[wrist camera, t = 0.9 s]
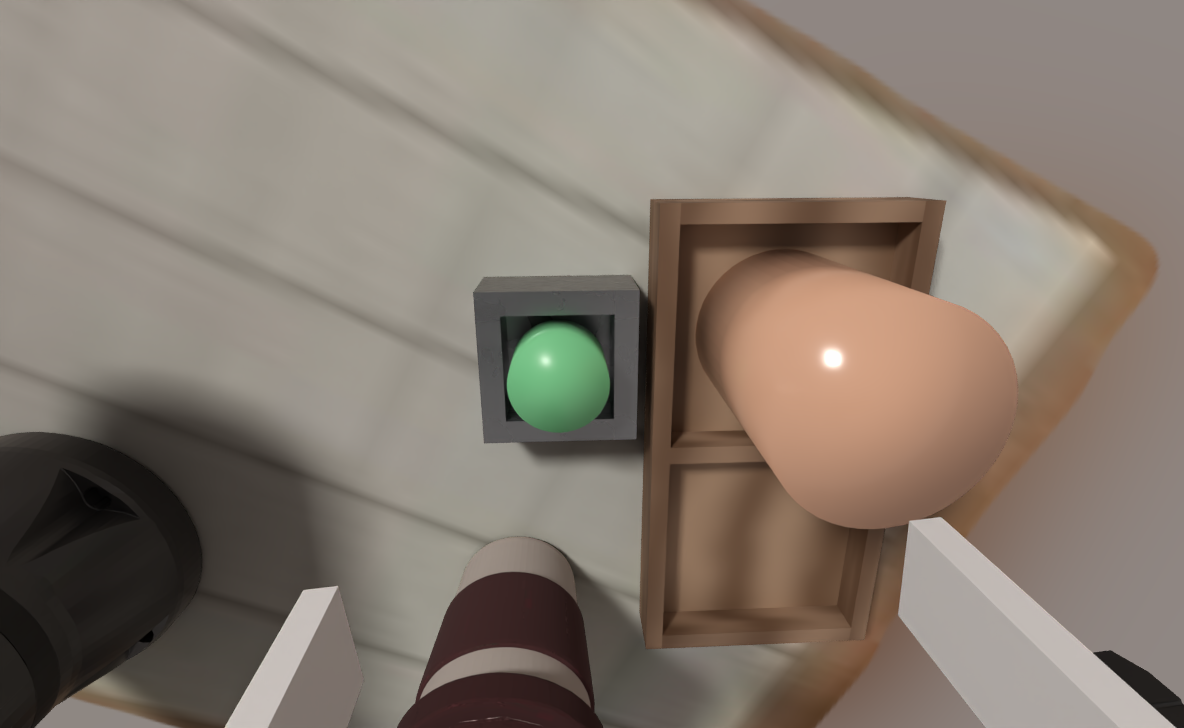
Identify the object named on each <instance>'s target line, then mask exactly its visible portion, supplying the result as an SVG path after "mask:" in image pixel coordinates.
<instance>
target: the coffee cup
mask: <svg viewBox="0 0 1184 728" xmlns="http://www.w3.org/2000/svg"><path fill="white" fill-rule="evenodd" d="M594 705H595V703H594V694H593V687H592V679H591V672H590V665H589V658H588V651H587V643H586V636H585V629H584V622H583V618H582V614H581V611H580V609H579V607H578V603H577V595H576V587H575V580H574V575H573V571H572V569H571V567H570V564H569V563H568V561H567V560H566V558H565V557H564V556H563V555H562V554H561V553H560V552H559V551H558V550H557V549H556V548H554V547H553V546H551V545H550V544H548V543H546V542H543V541H541V540H538V539H534V538H530V537H518V536H517V537H507V538H503V539H499V540H496V541H494V542H492V543H490V544H488V545H486V546H484V547H483V548H481V549H480V550H479V551H478V552H477V553H476V554H475V555H474V556H473V557H472V558H471V560H470V561H469V563H468V564H467V566H466V568H465V570H464V573H463V576H462V579H461V582H460V585H459V587H458V590H457V593H456V596H455V598H454V599H453V601H452V602H451V604H450V605H449V607H448V609H447V611H446V614H445V616H444V619H443V622H442V625H441V628H440V630H439V633H438V636H437V639H436V641H435V644H434V647H433V650H432V653H431V655H430V658H429V661H428V664H427V667H426V669H425V672H424V675H423V678H422V681H421V683H420V686H419V690H418V693H417V696H416V702H415V704H414V705H413V706H412V707H411V708H410V709H409V710H408V711H407V713H406V714H405V715H404V717H403V718H402V720H401V721H400V723H399V725H398V727H397V728H603V725H602V724H601V722H600V720H599V719H598V717H597V715H596V714H595V712H594Z"/></svg>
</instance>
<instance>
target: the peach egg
mask: <svg viewBox="0 0 1184 728" xmlns="http://www.w3.org/2000/svg"><path fill="white" fill-rule="evenodd" d="M695 339H696V349H697V354H698V357H699V361H700V363H701V366H702V368H703V370H704V372H705V373H706V375H707V376H708V378H709V379H710V381H711V382H712V384H713V385H714V387H715V388H716V390H717V391H718V392H719V394H720V395H721V397H722V398H723V400H724V401H725V403H726V404H727V406H728V407H729V408H730V410H731V411H732V413H733V414H734V416H735V417H736V419H737V420H738V422H739V423H740V424H741V426H742V427H743V429H744V430H745V432H746V433H747V435H748V436H749V438H750V439H751V440H752V442H753V443H754V445H755V446H756V448H757V449H758V451H759V452H760V453H761V455H762V456H763V458H764V459H765V461H766V462H767V464H768V465H769V467H770V468H771V469H772V471H773V472H774V474H775V475H776V477H777V478H778V480H779V481H780V483H781V484H782V485H783V487H784V488H785V490H786V491H787V493H788V494H789V495H790V496H791V497H792V498H793V499H794V500H795V501H796V502H797V503H798V504H799V505H800V506H801V507H803V508H804V509H805V510H806V511H808V512H810V513H811V514H813V515H815V516H816V517H818V518H820V519H823V520H825V521H827V522H830V523H833V524H836V525H840V526H844V527H850V528H857V529H882V528H891V527H896V526H901V525H905V524H908V523H909V521H912V520H921V519H923V518H925V517H928V516H930V515H932V514H934V513H936V512H938V511H940V510H942V509H943V508H945V507H947V506H949V505H950V504H952V503H953V502H954V501H956V500H957V499H959V498H960V497H962V496H963V495H964V494H965V493H966V492H968V491H969V490H970V489H971V488H972V487H973V486H974V485H975V484H976V483H977V482H978V481H979V480H980V479H981V478H982V477H983V476H984V475H985V474H986V473H987V471H988V470H989V469H990V467H991V466H992V465H993V463H994V462H995V461H996V459H997V457H998V456H999V454H1000V453H1001V451H1002V449H1003V448H1004V445H1005V443H1006V441H1007V439H1008V437H1009V435H1010V432H1011V429H1012V426H1013V423H1014V420H1015V415H1016V409H1017V404H1018V382H1017V373H1016V369H1015V366H1014V362H1013V359H1012V356H1011V354H1010V352H1009V350H1008V347H1007V346H1006V344H1005V343H1004V341H1003V340H1002V338H1001V337H1000V335H999V334H998V333H997V332H996V331H995V330H994V328H993V327H992V326H991V325H990V324H989V323H987V322H986V321H985V320H984V319H982V318H981V317H980V316H978V315H977V314H975V313H973V312H971V311H969V310H968V309H966V308H964V307H961V306H958V305H956V304H953V303H950V302H947V301H944V300H941V299H939V298H936V297H933V296H930V295H927V294H925V293H922V292H919V291H916V290H913V289H910V288H908V287H905V286H902V285H899V284H896V283H893V282H891V281H888V280H885V279H882V278H879V277H877V276H874V275H871V274H868V273H865V272H862V271H860V270H857V269H854V268H851V267H848V266H846V265H843V264H840V263H837V262H834V261H831V260H829V259H826V258H823V257H820V256H817V255H814V254H812V253H809V252H806V251H801V250H796V249H775V250H769V251H765V252H761V253H758V254H755V255H752V256H750V257H748V258H746V259H744V260H742V261H740V262H739V263H737V264H736V265H734V266H733V267H731V268H730V269H729V270H728V271H727V272H725V273H724V274H723V275H722V276H721V277H720V278H719V279H718V281H717V282H716V283H715V284H714V285H713V287H712V288H711V290H710V291H709V292H708V294H707V296H706V298H705V300H704V301H703V304H702V306H701V309H700V311H699V315H698V319H697V324H696V332H695Z"/></svg>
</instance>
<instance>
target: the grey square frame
mask: <svg viewBox="0 0 1184 728" xmlns="http://www.w3.org/2000/svg"><path fill="white" fill-rule="evenodd" d="M473 297H474V310H475V324H476V338H477V352H478V365H479V379H480V393H481V407H482V420H483V434H484V443H511V442H548V441H586V440H624V439H636V434H637V388H638V343H639V297H640V290H639V288H638V286H637V285H636V283H635V282H634V280H633V278H632V277H631V275H602V276H530V277H484V278H483V279H482V281H481V282H480V283H479V285H478V286H477V288H476V289H475V291H474V292H473ZM551 320H567V321H571V322H575V323H577V324H580V325H582V326H583V327H585V328H587V329H588V330H589V331H590V332H592V333H593V335H594V336H595V337H596V338H597V339H598V341H599V342H600V344H601V346H602V349H603V351H604V355H605V360H606V364H607V369H608V373H609V378H610V391H609V396H608V399H607V402H606V404H605V406H604V408H603V409H602V411H601V412H600V414H599V415H598V416H597V417H596V418H595V419H594V420H593V421H591V422H590V423H589V424H587V425H585V426H584V427H581V428H579V429H577V430H574V431H569V432H562V433H555V432H547V431H543V430H540V429H538V428H535V427H533V426H532V425H530V424H528V423H527V422H526V421H524V420H523V419H522V418H521V417H520V416H519V415H518V414H517V412H516V411H515V410H514V408H513V406H512V404H511V402H510V400H509V396H508V392H507V378H508V373H509V369H510V365H511V361H512V357H513V353H514V350H515V347H516V345H517V343H518V342H519V340H520V339H521V337H522V336H523V335H524V334H525V333H526V332H527V331H528V330H530V329H531V328H532V327H534V326H536V325H538V324H540V323H543V322H546V321H551Z"/></svg>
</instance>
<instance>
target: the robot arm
mask: <svg viewBox="0 0 1184 728" xmlns="http://www.w3.org/2000/svg"><path fill="white" fill-rule="evenodd" d="M201 566H202V558H201V548H200V544H199V540H198V536H197V533H196V531H195V528H194V526H193V523H192V521H191V519H190V517H189V516H188V514H187V512H186V511H185V509H184V508H183V506H182V505H181V503H180V502H179V501H178V499H177V498H176V497H175V496H174V494H173V493H172V492H171V491H170V490H169V489H168V488H167V487H166V486H165V485H164V484H163V483H162V482H161V481H160V480H159V479H158V478H157V477H155V476H154V475H153V474H152V473H151V472H149V471H148V470H147V469H145V468H144V467H142V466H141V465H139V464H138V463H136V462H135V461H133V460H132V459H130V458H128V457H126V456H125V455H123V454H121V453H119V452H117V451H115V450H113V449H110V448H108V447H106V446H103V445H101V444H98V443H95V442H92V441H89V440H86V439H82V438H78V437H74V436H69V435H64V434H56V433H45V432H27V433H16V434H10V435H5V436H0V728H35V726H36V725H37V724H38V723H39V722H40V721H41V720H42V719H43V718H44V717H45V716H46V715H47V714H48V713H49V712H50V711H51V710H52V709H53V708H54V707H55V706H56V705H58V704H60V703H61V702H63V701H64V700H66V699H67V698H69V697H71V696H72V695H74V694H75V693H77V692H78V691H80V690H82V689H83V688H85V687H86V686H88V685H90V684H91V683H93V682H94V681H96V680H97V679H99V678H101V677H102V676H104V675H105V674H107V673H108V672H110V671H111V670H113V669H114V668H116V667H117V666H119V665H120V664H122V663H123V662H125V661H126V660H128V659H130V658H132V657H133V656H135V655H136V654H138V653H140V652H141V651H143V650H144V649H146V648H147V647H148V646H150V645H151V644H152V643H153V642H155V641H156V640H157V639H158V638H159V637H160V636H161V635H162V634H163V633H164V632H165V631H166V630H167V629H168V628H169V627H170V625H171V624H172V623H173V622H174V621H175V620H176V618H177V617H178V616H179V615H180V614H181V613H182V611H183V610H184V609H185V608H186V606H187V605H188V604H189V602H190V601H191V599H192V598H193V596H194V594H195V592H196V589H197V587H198V584H199V580H200V575H201ZM898 616H899V617H900V618H901V620H902V621H903V622H904V623H905V625H906V626H907V627H908V629H909V630H910V631H911V632H912V634H913V635H914V636H915V638H916V639H917V640H918V641H919V643H920V644H921V645H922V647H923V648H924V649H925V650H926V652H927V653H928V654H929V656H930V657H931V658H932V659H933V661H934V662H935V663H936V664H937V666H938V667H939V668H940V670H941V671H942V672H943V674H944V675H945V676H946V678H947V679H948V680H949V681H950V683H951V684H952V685H953V687H954V688H955V689H956V690H957V692H958V693H959V694H960V696H961V697H962V698H963V699H964V701H965V702H966V703H967V705H968V706H969V707H970V708H971V710H972V711H973V712H974V714H975V715H976V716H977V717H978V719H979V720H980V721H981V723H982V724H983V725H984V726H985V727H986V728H1184V705H1183V704H1182V702H1181V699H1180V698H1179V697H1178V696H1176V695H1175V694H1174V693H1173V692H1172V691H1170V690H1169V689H1168V688H1167V687H1166V686H1165V685H1163V684H1162V683H1161V682H1160V681H1159V680H1157V679H1156V678H1155V677H1154V676H1153V675H1152V674H1150V673H1149V672H1148V671H1146V670H1144V669H1142V668H1141V667H1139V666H1137V665H1135V664H1134V663H1132V662H1130V661H1128V660H1127V659H1125V658H1123V657H1121V656H1120V655H1118V654H1116V653H1114V652H1113V651H1102V652H1094V653H1092V652H1091V651H1090V650H1088V649H1087V647H1085V646H1084V645H1083V644H1082V643H1081V642H1080V641H1079V640H1078V639H1076V638H1075V637H1074V636H1073V635H1072V634H1071V633H1070V632H1069V631H1067V630H1066V629H1065V628H1064V627H1063V626H1062V625H1061V624H1060V623H1059V622H1058V621H1056V620H1055V619H1054V618H1053V617H1052V616H1051V615H1050V614H1049V613H1047V612H1046V611H1045V610H1044V609H1043V608H1042V607H1041V606H1040V605H1039V604H1037V603H1036V602H1035V601H1034V600H1033V599H1032V598H1031V597H1030V596H1029V595H1027V594H1026V593H1025V592H1024V591H1023V590H1022V589H1020V587H1018V586H1017V585H1016V584H1015V583H1014V582H1013V581H1012V580H1010V579H1009V578H1008V577H1007V576H1006V575H1005V574H1004V573H1003V572H1002V571H1001V570H1000V569H998V568H997V567H996V566H995V565H994V564H993V563H992V562H991V561H989V560H988V559H987V558H986V557H985V556H984V555H983V554H982V553H981V552H979V551H978V550H977V549H976V548H975V547H974V546H973V545H972V544H970V543H969V542H968V541H967V540H966V539H965V538H964V537H963V536H962V535H960V534H959V533H958V532H957V531H956V530H955V529H954V528H953V527H952V526H950V525H949V524H948V523H947V522H946V521H945V520H944V519H943V518H942V517H938V518H930V519H921V520H912V521H909V527H908V536H907V544H906V553H905V561H904V570H903V578H902V587H901V595H900V604H899V613H898ZM363 682H364V677H363V674H362V670H361V667H360V663H359V659H358V656H357V652H356V648H355V645H354V641H353V638H352V634H351V630H350V627H349V623H348V619H347V616H346V612H345V609H344V605H343V601H342V598H341V594H340V591H339V587H338V586H334V587H325V588H316V589H308V590H303V592H302V593H301V595H300V597H299V599H298V600H297V602H296V604H295V606H294V607H293V609H292V611H291V613H290V614H289V616H288V618H287V619H286V621H285V623H284V625H283V626H282V628H281V630H280V632H279V633H278V635H277V637H276V639H275V640H274V642H273V644H272V646H271V647H270V649H269V651H268V653H267V654H266V656H265V658H264V660H263V661H262V663H261V665H260V666H259V668H258V670H257V672H256V673H255V675H254V677H253V679H252V680H251V682H250V684H249V686H248V687H247V689H246V691H245V693H244V694H243V696H242V698H241V700H240V701H239V703H238V705H237V707H236V708H235V710H234V712H233V713H232V715H231V717H230V719H229V720H228V722H227V724H226V726H225V727H224V728H347V727H348V724H349V721H350V718H351V716H352V713H353V710H354V707H355V704H356V702H357V699H358V696H359V693H360V690H361V688H362V685H363Z"/></svg>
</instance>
